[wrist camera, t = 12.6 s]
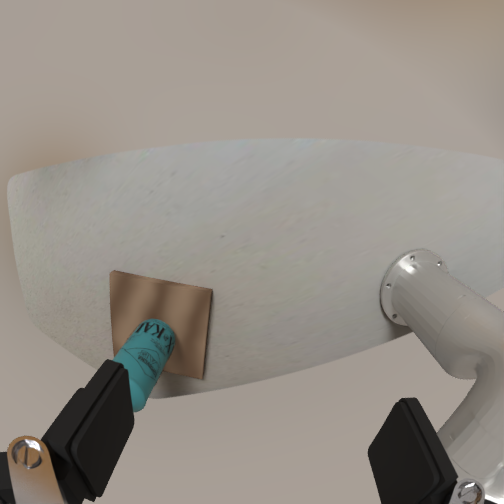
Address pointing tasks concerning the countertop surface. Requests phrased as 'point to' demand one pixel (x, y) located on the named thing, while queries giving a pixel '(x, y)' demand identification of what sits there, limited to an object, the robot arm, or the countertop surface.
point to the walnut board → (163, 316)
